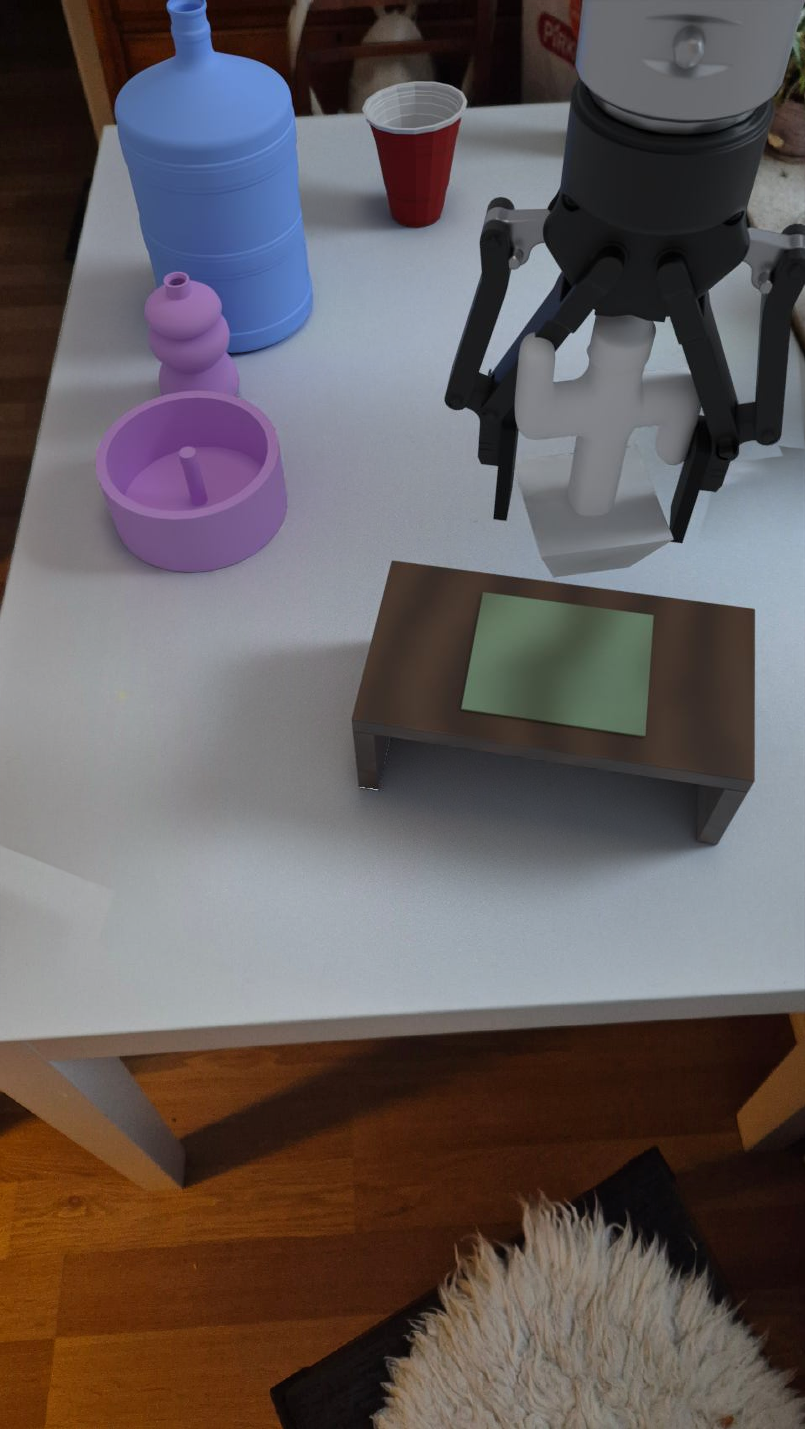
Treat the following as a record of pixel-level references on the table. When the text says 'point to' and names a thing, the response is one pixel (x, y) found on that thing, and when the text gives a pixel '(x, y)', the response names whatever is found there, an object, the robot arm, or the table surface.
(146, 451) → the container set
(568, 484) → the figurine
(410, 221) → the plastic cup
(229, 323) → the water jug
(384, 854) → the table surface
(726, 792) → the shelf
